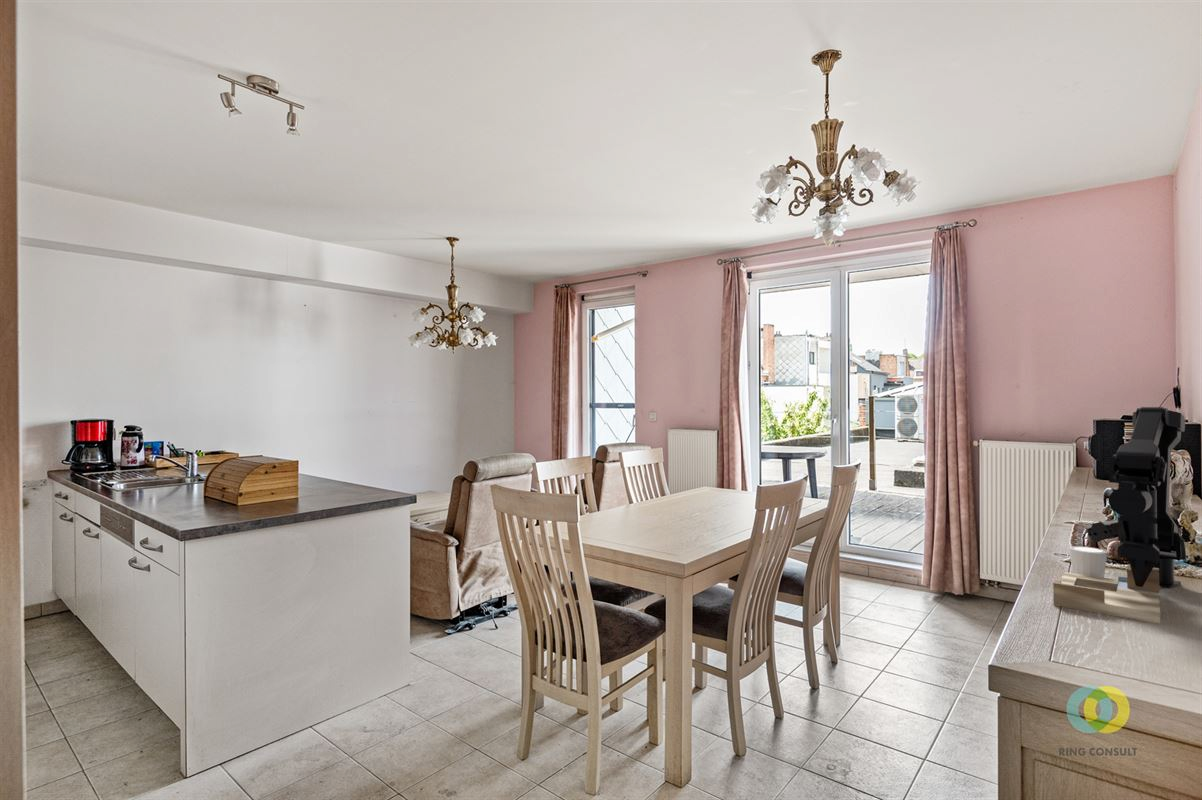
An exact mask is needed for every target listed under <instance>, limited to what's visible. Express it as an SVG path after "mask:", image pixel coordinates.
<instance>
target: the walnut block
mask: <svg viewBox="0 0 1202 800" xmlns="http://www.w3.org/2000/svg"><path fill="white" fill-rule="evenodd" d="M1126 577H1127V588H1130V589H1137V590H1144V591H1150V592H1157V593H1159V594H1160V586H1159V568H1153V569H1152V571H1151V573H1150V574H1149V576H1148V578H1147V580H1146V582H1145V584H1144V585H1143V587H1139V586H1136V585H1135V581H1134V578H1133V574H1132V570H1131V567H1130V563H1129V564H1127V567H1126Z"/></svg>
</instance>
